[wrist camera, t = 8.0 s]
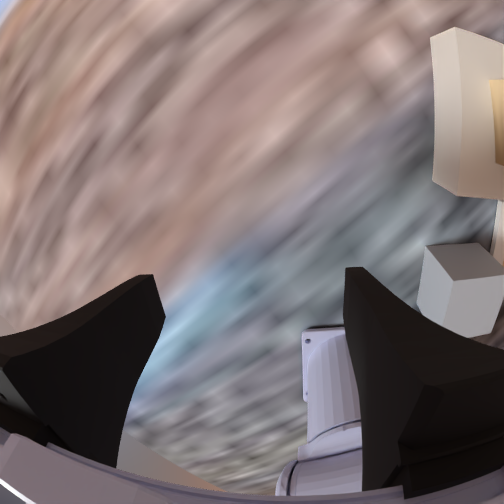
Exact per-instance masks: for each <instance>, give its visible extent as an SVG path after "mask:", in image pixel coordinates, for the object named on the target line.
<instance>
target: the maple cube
mask: <svg viewBox="0 0 504 504" xmlns="http://www.w3.org/2000/svg"><path fill="white" fill-rule="evenodd" d="M489 84H490V91H491V99H492V108H493V119H494V133H495V163H497V164H499V165H502V166H504V79H502V80H489Z"/></svg>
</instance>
